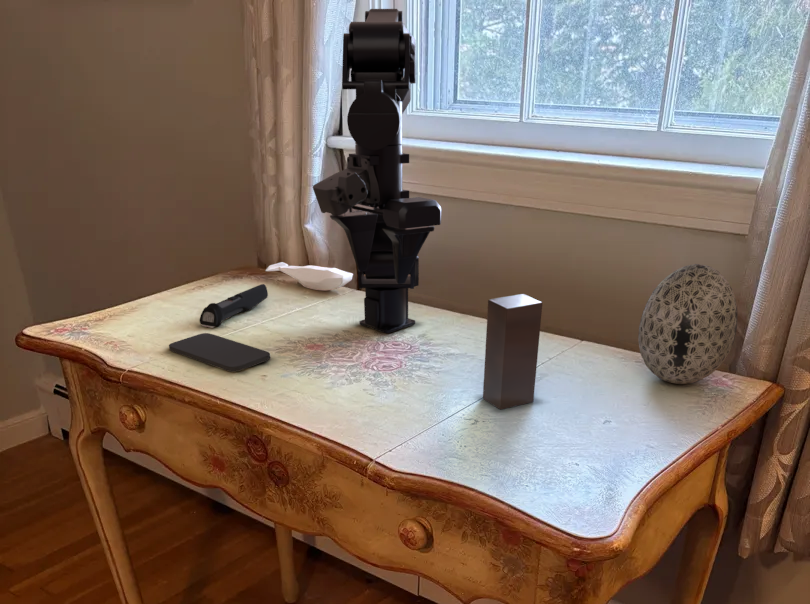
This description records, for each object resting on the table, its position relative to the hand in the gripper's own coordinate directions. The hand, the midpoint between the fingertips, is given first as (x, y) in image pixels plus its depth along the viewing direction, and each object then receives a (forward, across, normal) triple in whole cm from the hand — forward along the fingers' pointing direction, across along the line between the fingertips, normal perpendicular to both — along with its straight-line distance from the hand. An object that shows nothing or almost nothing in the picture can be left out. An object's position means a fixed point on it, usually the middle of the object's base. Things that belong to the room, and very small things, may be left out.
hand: (380, 277), depth 104 cm
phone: (+12, -16, -17) cm, 26 cm away
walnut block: (+13, +19, +6) cm, 24 cm away
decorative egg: (+12, +27, +29) cm, 41 cm away
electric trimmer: (+11, -33, -7) cm, 35 cm away
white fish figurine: (+10, -39, +10) cm, 42 cm away
